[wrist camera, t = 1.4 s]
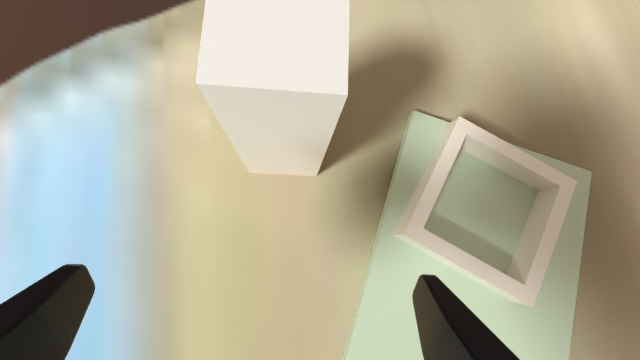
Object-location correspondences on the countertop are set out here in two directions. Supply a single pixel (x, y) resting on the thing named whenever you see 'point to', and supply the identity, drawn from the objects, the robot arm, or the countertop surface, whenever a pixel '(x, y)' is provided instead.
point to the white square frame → (537, 231)
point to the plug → (276, 78)
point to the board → (477, 240)
